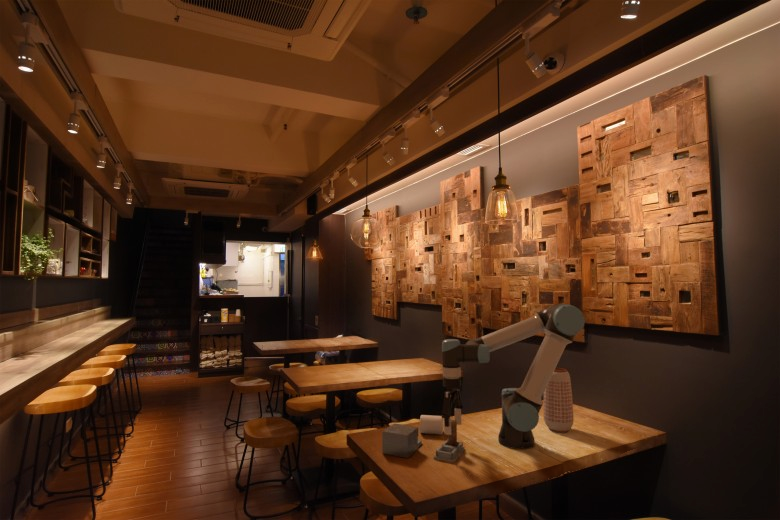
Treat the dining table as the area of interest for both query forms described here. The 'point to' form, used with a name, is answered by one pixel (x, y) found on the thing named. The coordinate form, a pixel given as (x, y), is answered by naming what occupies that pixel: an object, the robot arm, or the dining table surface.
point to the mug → (431, 424)
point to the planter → (558, 402)
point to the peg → (453, 434)
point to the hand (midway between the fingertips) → (453, 429)
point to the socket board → (449, 452)
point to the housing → (400, 440)
